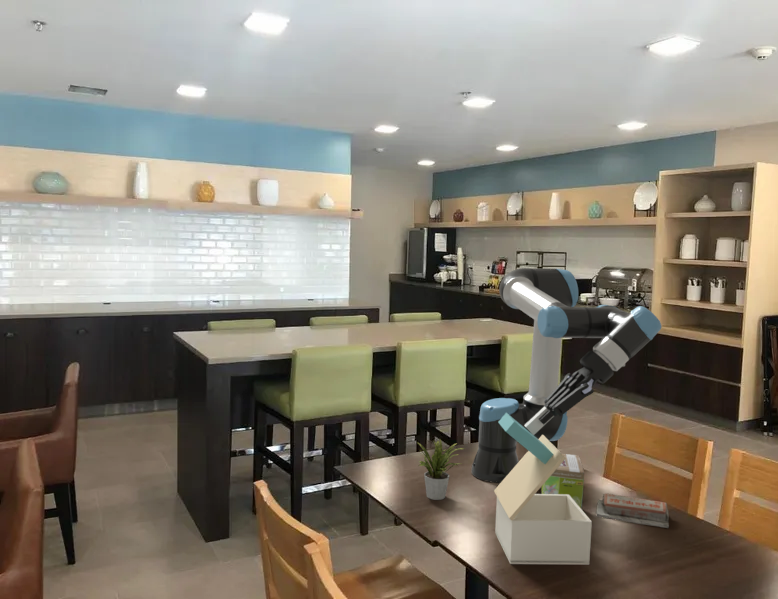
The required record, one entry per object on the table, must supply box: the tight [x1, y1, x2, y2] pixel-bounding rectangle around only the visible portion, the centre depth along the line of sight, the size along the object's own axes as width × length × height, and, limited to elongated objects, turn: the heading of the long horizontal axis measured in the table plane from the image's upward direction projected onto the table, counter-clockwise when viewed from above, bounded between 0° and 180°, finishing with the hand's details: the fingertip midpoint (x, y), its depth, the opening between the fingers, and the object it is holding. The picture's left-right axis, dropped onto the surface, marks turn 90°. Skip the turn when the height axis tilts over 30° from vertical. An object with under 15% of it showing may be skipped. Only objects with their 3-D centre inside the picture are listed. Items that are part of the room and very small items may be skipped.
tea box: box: [540, 453, 585, 510], centre depth 175 cm, size 15×10×15 cm
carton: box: [494, 493, 593, 566], centre depth 155 cm, size 18×16×10 cm
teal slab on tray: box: [493, 413, 566, 520], centre depth 153 cm, size 18×16×13 cm
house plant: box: [417, 438, 465, 501], centre depth 184 cm, size 14×14×16 cm
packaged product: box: [595, 493, 670, 529], centre depth 176 cm, size 18×5×10 cm
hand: (528, 430), depth 153 cm, fingers closed
